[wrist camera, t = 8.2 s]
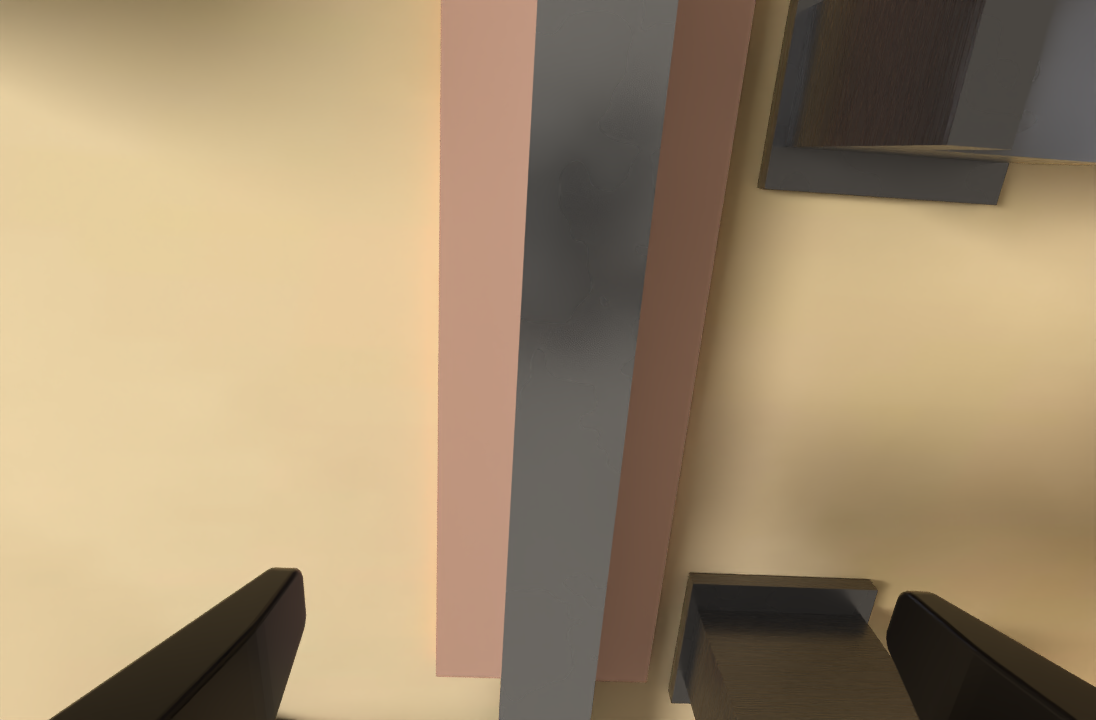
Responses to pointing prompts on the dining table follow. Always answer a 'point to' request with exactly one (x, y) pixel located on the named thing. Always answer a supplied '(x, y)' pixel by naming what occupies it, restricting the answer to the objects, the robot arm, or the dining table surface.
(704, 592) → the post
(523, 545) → the rail
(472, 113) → the mat
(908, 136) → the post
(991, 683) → the robot arm
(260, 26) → the dining table surface
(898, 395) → the dining table surface
